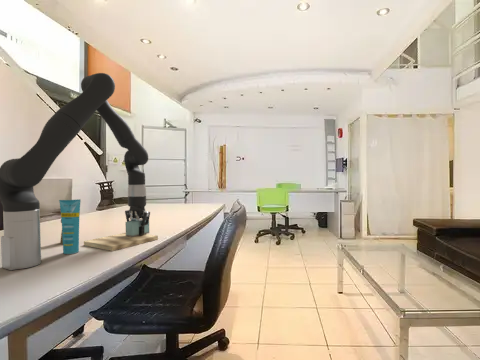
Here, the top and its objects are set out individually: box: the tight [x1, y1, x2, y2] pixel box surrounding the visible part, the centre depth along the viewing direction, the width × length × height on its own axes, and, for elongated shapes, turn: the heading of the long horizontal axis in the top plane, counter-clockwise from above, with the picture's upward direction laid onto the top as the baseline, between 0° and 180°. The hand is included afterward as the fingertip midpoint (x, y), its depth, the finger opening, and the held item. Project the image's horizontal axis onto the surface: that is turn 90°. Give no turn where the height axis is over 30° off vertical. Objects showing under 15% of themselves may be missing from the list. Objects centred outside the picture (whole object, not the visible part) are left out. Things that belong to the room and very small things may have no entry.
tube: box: [58, 198, 82, 255], centre depth 109 cm, size 7×5×19 cm, turn 98°
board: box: [83, 232, 159, 252], centre depth 125 cm, size 22×18×2 cm
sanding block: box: [125, 220, 150, 237], centre depth 132 cm, size 9×4×6 cm, turn 149°
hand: (137, 234), depth 131 cm, fingers closed on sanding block, 4 cm apart
